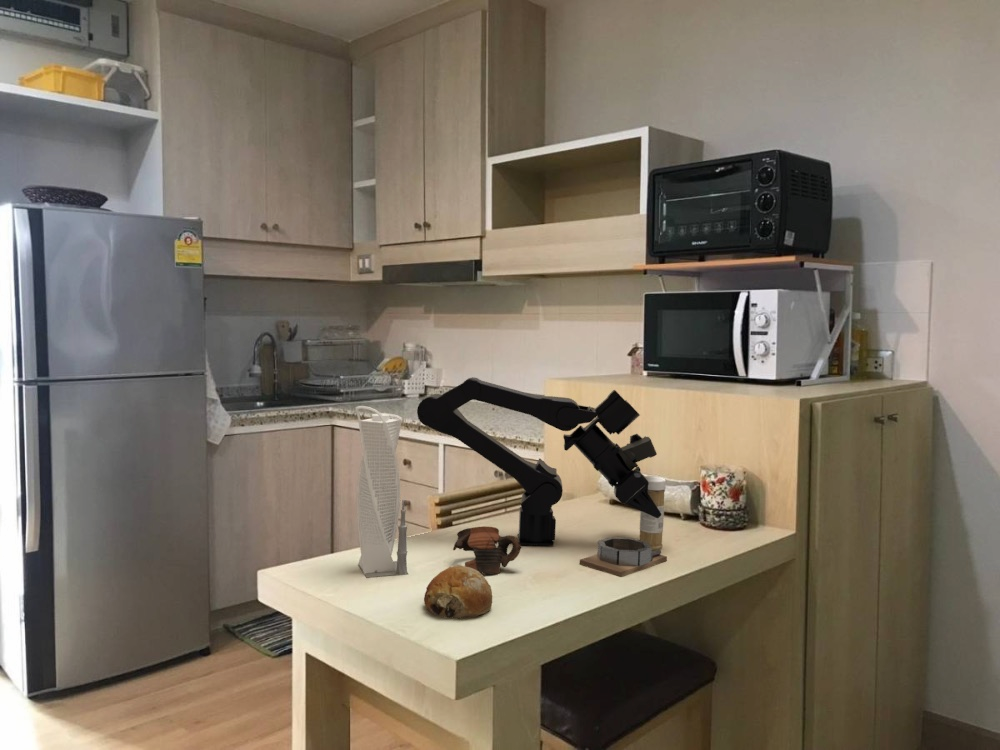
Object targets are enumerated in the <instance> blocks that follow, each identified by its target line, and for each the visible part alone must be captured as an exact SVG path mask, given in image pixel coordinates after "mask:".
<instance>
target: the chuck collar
mask: <svg viewBox="0 0 1000 750" xmlns="http://www.w3.org/2000/svg"><path fill="white" fill-rule="evenodd" d="M597 554H598V557H599V559H600V560H601V561H604V562H607V563H611V564H614V565H619V566H641V565H644V564H646V563H649V562H651V561H652V560H653V557H654V556H657V555H662V550H661V549H657V550H651V546H650V545H649V543H648V542H645V541H641V540H640V539H638V538H633V537H625V536H624V537H619V536H617V537H616V536H611V537H610V536H609V537H606V538H602V539H599V540H598V541H597Z"/></svg>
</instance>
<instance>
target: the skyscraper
mask: <svg viewBox="0 0 1000 750" xmlns="http://www.w3.org/2000/svg"><path fill="white" fill-rule="evenodd" d="M354 409H355V413H356V416H357V420H358V428H359V436H360V441H361V449H362V455H361V456H362V457H361V461H360V467H359V472H358V480H357V490H356V512H357V513H356V516H357V529H358V540H359V546H360V547H359V548H360V549H359V550H360V558H359V561H358V563H357V566H358V568H359V569H360V570H361V572H362V573H363V575H364V577H365V578H366V579H371V578H383V577H394V576H403V575H404V576H407V575H409V572H408V567H407V566H408V565H407V555H408V551H407V549H408V547H407V530H408V525H406V509H405V499H402V502H401V479H400V477H401V476H400V469H399V463H398V459H397V454H396V452H397V447H398V442H399V437H400V433H401V427H402V422H403V418H402V417H401V416H400V415H397V414H394V413H388V412H380V411H379V410H377V409H375V408H373V407H370V406H367V405H358V406H356V407H355V408H354ZM360 410H368V411H371V412H373V413H374V414H373V413H372V414H371V418H367V419H361V415H360V412H359V411H360ZM390 417H391V418H390ZM401 503H402V507H401ZM400 507H401V508H402V509H401V508H400ZM400 509H401V510H400ZM399 520H400V524H399ZM397 531H398V539H397V540H398V541H397V551H396V556H397V557H396V558H397V559H396V561H395V560H393V557H392V555H393V554H392V553H393V549H394V545H395V541H396V537H397Z"/></svg>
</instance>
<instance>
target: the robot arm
mask: <svg viewBox="0 0 1000 750" xmlns="http://www.w3.org/2000/svg"><path fill="white" fill-rule="evenodd" d="M473 400H474V401H477V402H482V403H485V404H490V405H492V406H493V405H494V406H496V407H500V408H503V409H507V410H511V411H514V412H518V413H522V414H526V415H528V416H531V417H534V418H536V419H537V420H540V421H541V422H543V423H544V424H547V425H548V426H551V427H553V428H555V429H558V430H560V431H561V432H570V431H572V430H574V431H572V432H571V433H570V434H563V441H564V442H563V443H564V444H563V449H564V451H569V450H570V449H571V448H572V447H573V446H575V447H576V448H577V449H578V451H579V452H580V453H581V454H582V455H583V456H584V457H585V458H586V459H587V461H589V462H590V464H591V465H592V466H593V468H594V469H595V471H597V472H599V473H600V474H601V475H602V477H604V478H605V480H607V482H608V484H609V485H610V486H611V487H612V488H613V493H614V496H615V498H616V499H617V500H618V501H619V502H620V503H621V504H622V505H625V506H628V507H630V508H633V509H635V510H638V511H640V512H641V511H642V512H644V513H647V514H649V515H651V516H653V517H655V518H659V517H660V516H661V515H662V514H661V512H660V511H659V509H658V508H657V506H656V505H655V503H654V502H653V500H652V498H651V497H650V495H649V494H648V485H649V482H648V480H647V479H646V478H645V477H646V476H645V475H644V474H643V473H642V472H641V468H640V466H639V464H638V462H641V461H643V460H647V459H648V458H654V457H655V456H657V454H658V453H657V450H656V449H655V447H654V444H653V442H652V439H651V438H650V436H643V437H641V435H639V434H638V433H635V434H632V435H630V436H629V443H626V445H624V446H621V447H620V445H619V444H618V443H615V442H613V441H612V440H611V438H609V437H608V436H607V434H606V433H605V432H604V431H603V430H602V429H601V428H600V427H599V426H598V425H597V424H599V425H601V427H602V428H603V429H604V430H605V431H606V432H607V433H608V434H609V435H612V434H613V435H614V434H615V433H616V434H617V435H620V434H621V433H623V431H624V430H626V429H627V428H628V427H629V426H630V425H631V424H632V423H633V422H634V421H635V420H636V419H637V418H639V417H640V416H641V414H640V413H639V412H638V411H637V410H636V409H635V408H634V407H633V406H632V404H630V403H629V402H628V401H627V399H626V400H625V398H623V397H622V395H621V394H619V392H618V391H617V390H616V389H614V390H612V391H611V392H609V394H608V395H607V397H606V398H605V399H604V400H602V402H601V403H599V404H598V405H597V406H596V407H591V406H586V405H581V404H578V402H577V401H576V400H574V399H572V398H569V397H561V396H553V395H551V396H547V395H536V394H531V393H529V392H524V391H521V390H517V389H514V388H510V387H507V386H502V385H498V384H495V383H492V382H488V381H485V380H482V379H480V378H478V377H475V376H474V377H468V378H467V379H465V380H464V381H463V382H462V383H459V384H458V385H457V386H455V387H453V388H452V389H450V390H448V391H446V392H444V393H443V394H441V393H433V394H430V395H428V396H427V397H425V398H423V399H422V400H421V401H420V403H419V404H418V405H417V412H416V414H417V419H418V421H419V422H420V423H421V424H422V425H423V426H425V427H428V428H430V429H432V430H435V431H436V432H438V433H441V434H444V435H447V436H450V437H453V438H455V439H456V440H458V441H459V442H461V443H463V444H464V445H465V446H467V447H469V448H470V449H471V450H473V451H474V452H476V453H477V454H478V455H480V456H482V457H483V458H484V459H486V460H487V461H489V462H490V463H492V464H493V465H495V466H496V467H497V468H499V469H500V470H502V471H503V472H504V473H506V474H508V476H510V477H512V478H513V479H514V480H516V482H517V483H518V484H519V485H520V487H521V488H522V489H523V490H524V492H522V495H521V501H520V506H519V511H518V513H519V515H518V516H519V518H518V533H517V536H516V537H517V539H518V540H519V541H520V546H547V547H549V546H551V547H552V546H554V541H555V540H556V521H557V520H556V517H555V516H554V510H553V508H552V507H553V506H554V505H556V504H558V502H560V500H561V498H562V496H563V492H564V489H563V483H562V478H561V477H560V475H559V474H558V473H557V471H558V470H557V468H555V467H551V466H550V465H548V464H547V463H546V462H545V461H544V460H543V459H541V458H538V460H537V462H536V463H535V462H531V461H529V460H526V459H525V458H523V457H522V456H521V455H519V454H517V453H516V452H514V451H513V450H512V449H510V448H508V447H507V446H506V445H504V444H503V443H501V442H500V441H498V440H497V439H496V438H494V437H493V436H491V435H490V434H488V433H487V432H485V431H484V430H482V429H481V428H480V427H478V426H476V425H475V424H474V423H472V422H471V421H470V420H468V419H467V418H466V417H465V415H463V413H462V412H461V411H460V410H459V408H460V407H462V406H464V405H466V404H467V403H468V402H471V401H473ZM582 424H583V425H584V424H587V425H586V426H584V427H583V425H582Z"/></svg>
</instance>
